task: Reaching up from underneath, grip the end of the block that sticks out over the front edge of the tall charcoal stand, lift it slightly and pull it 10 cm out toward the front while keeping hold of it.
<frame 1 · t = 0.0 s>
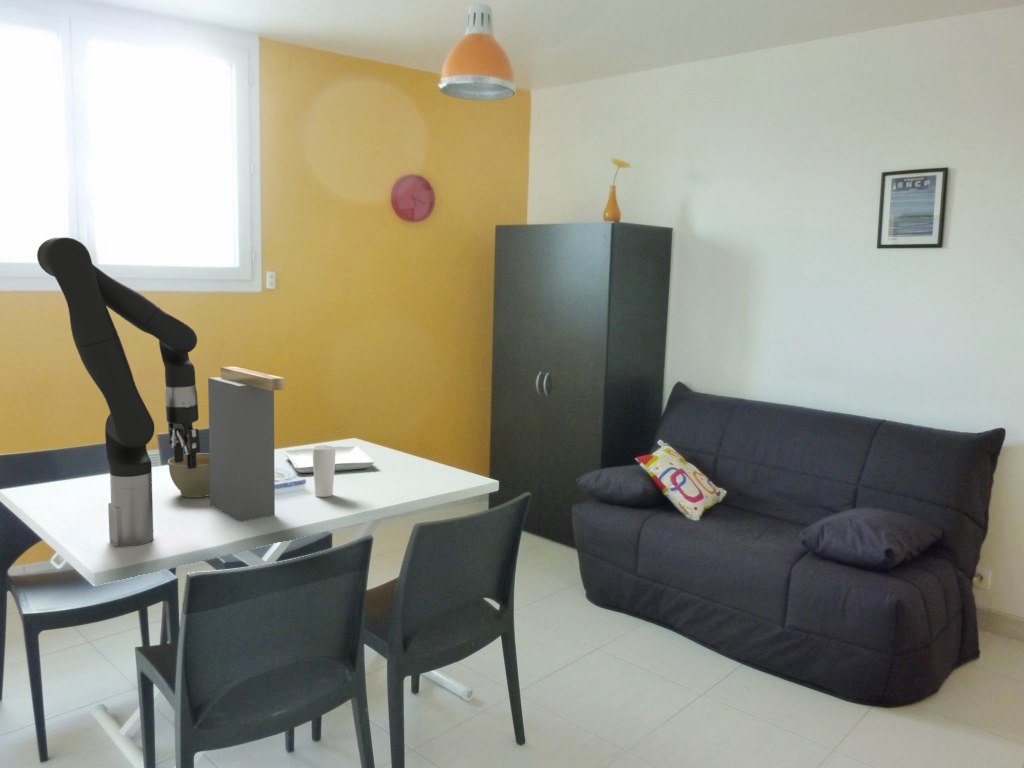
hand: (185, 465, 203), 17 cm above the table, tool pointing down, fingers open, 8 cm apart
square plate: (327, 466, 282), on the table
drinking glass: (323, 496, 242), on the table
block: (251, 383, 215), point 37 cm above the table, touching stand
stand: (242, 510, 224), on the table
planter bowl: (197, 494, 239), on the table
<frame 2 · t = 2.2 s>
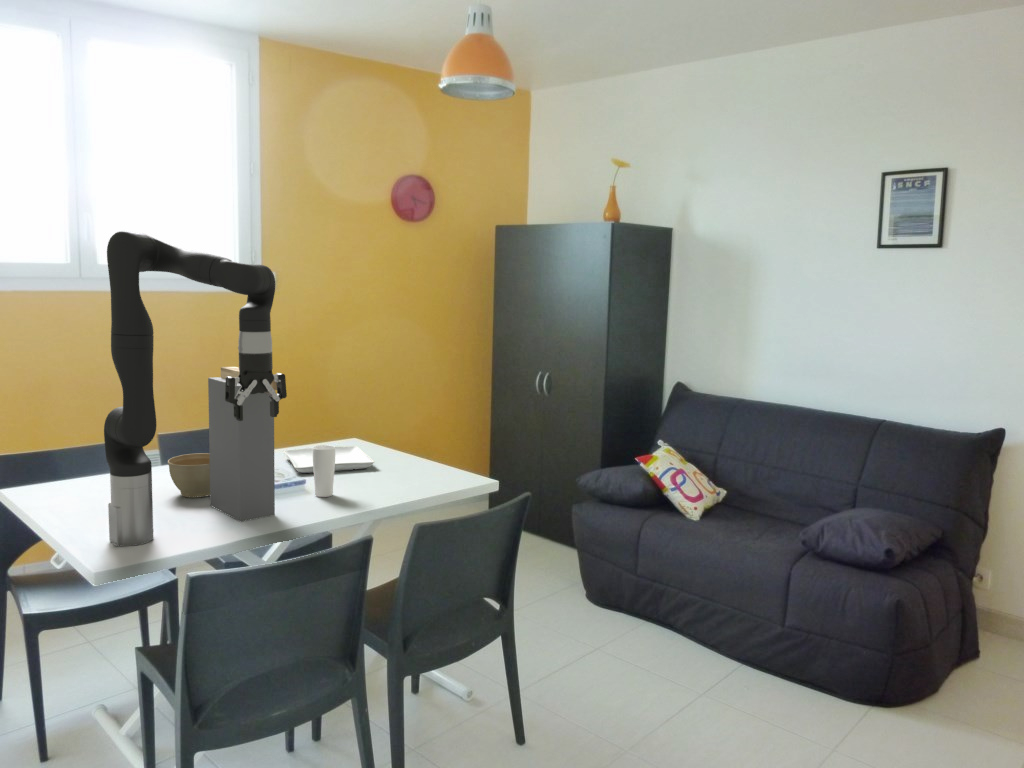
hand: (256, 418, 188), 33 cm above the table, tool pointing down, fingers open, 8 cm apart
nothing on the table moved.
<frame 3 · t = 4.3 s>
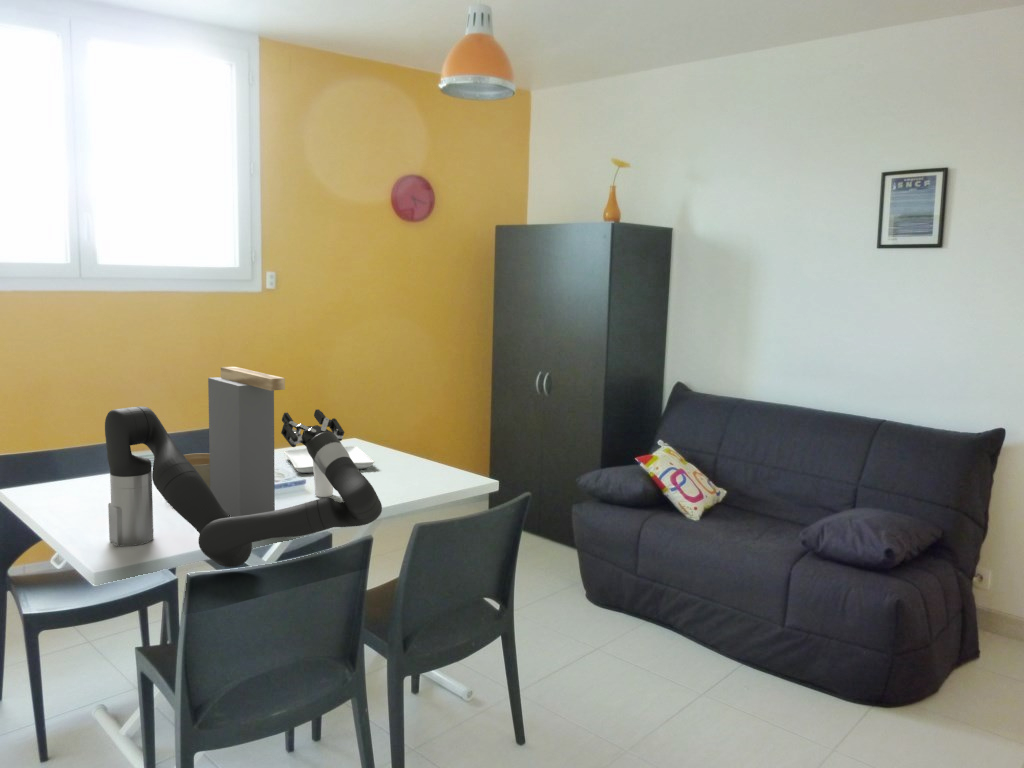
hand: (300, 413, 196), 33 cm above the table, tool pointing upward, fingers open, 8 cm apart
nothing on the table moved.
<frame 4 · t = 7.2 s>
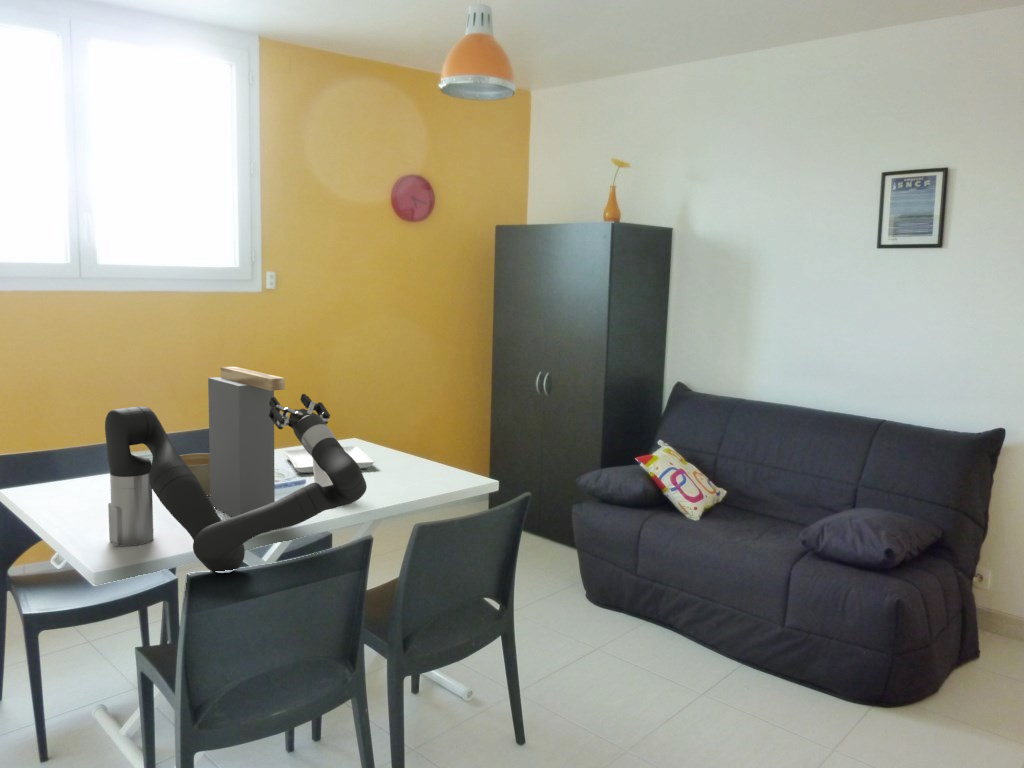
hand: (287, 397, 202), 35 cm above the table, tool pointing upward, fingers open, 8 cm apart
nothing on the table moved.
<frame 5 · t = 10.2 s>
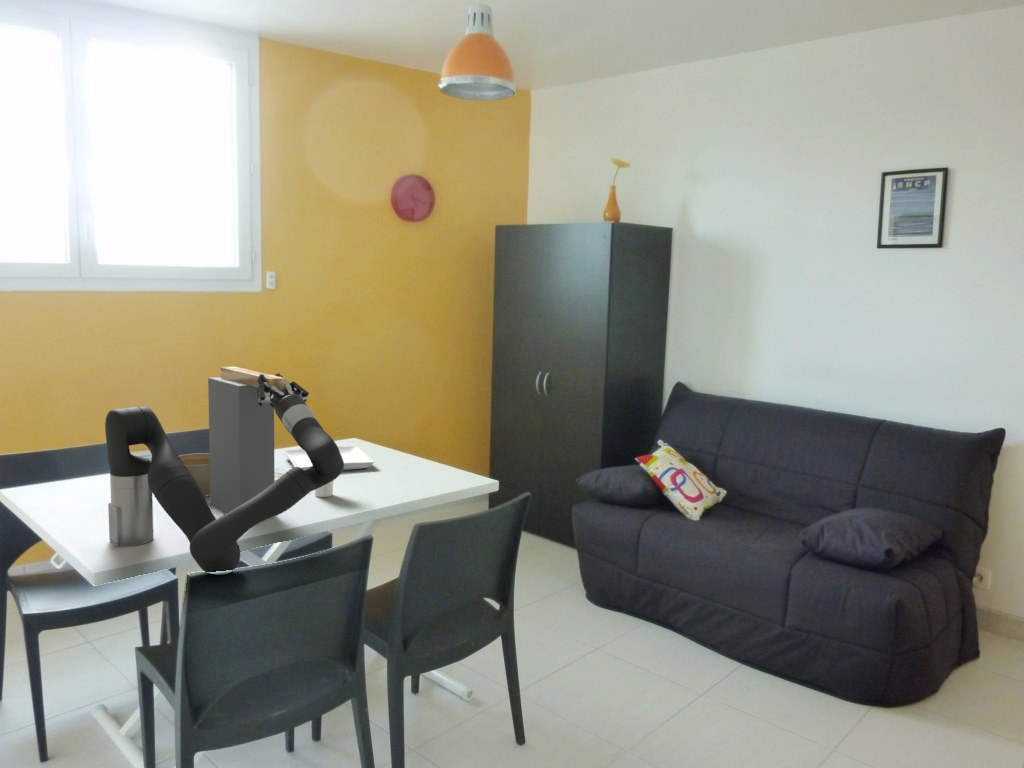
hand: (268, 376, 207), 40 cm above the table, tool pointing upward, fingers closed on block, 4 cm apart
block: (251, 383, 215), point 37 cm above the table, touching gripper, stand
everything else where it was.
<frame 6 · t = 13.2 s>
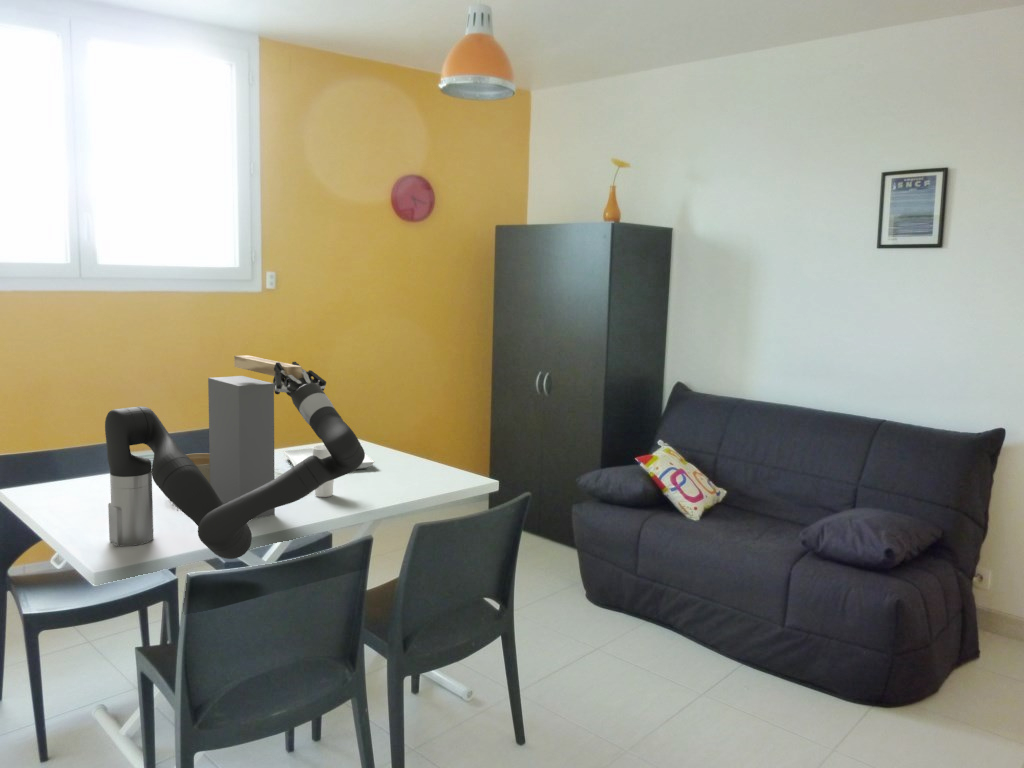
hand: (285, 365, 201), 44 cm above the table, tool pointing upward, fingers closed on block, 4 cm apart
block: (266, 372, 208), point 41 cm above the table, touching gripper
everything else where it was.
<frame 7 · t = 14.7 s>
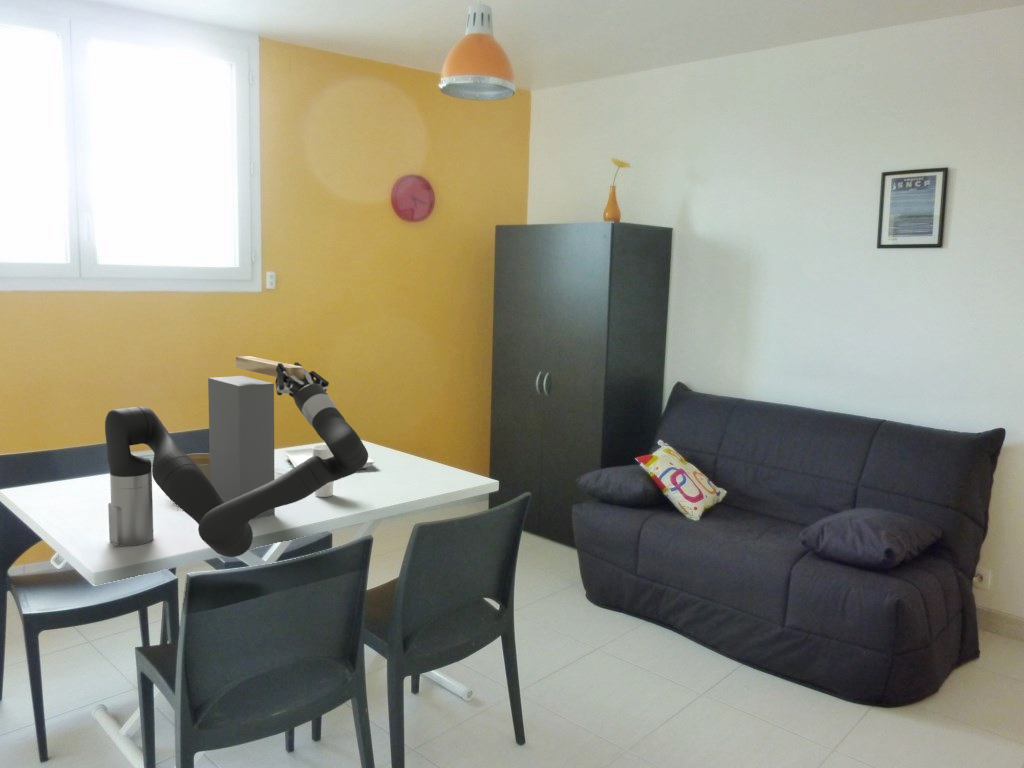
hand: (287, 365, 199), 44 cm above the table, tool pointing upward, fingers closed on block, 4 cm apart
block: (268, 373, 207), point 41 cm above the table, touching gripper
everything else where it was.
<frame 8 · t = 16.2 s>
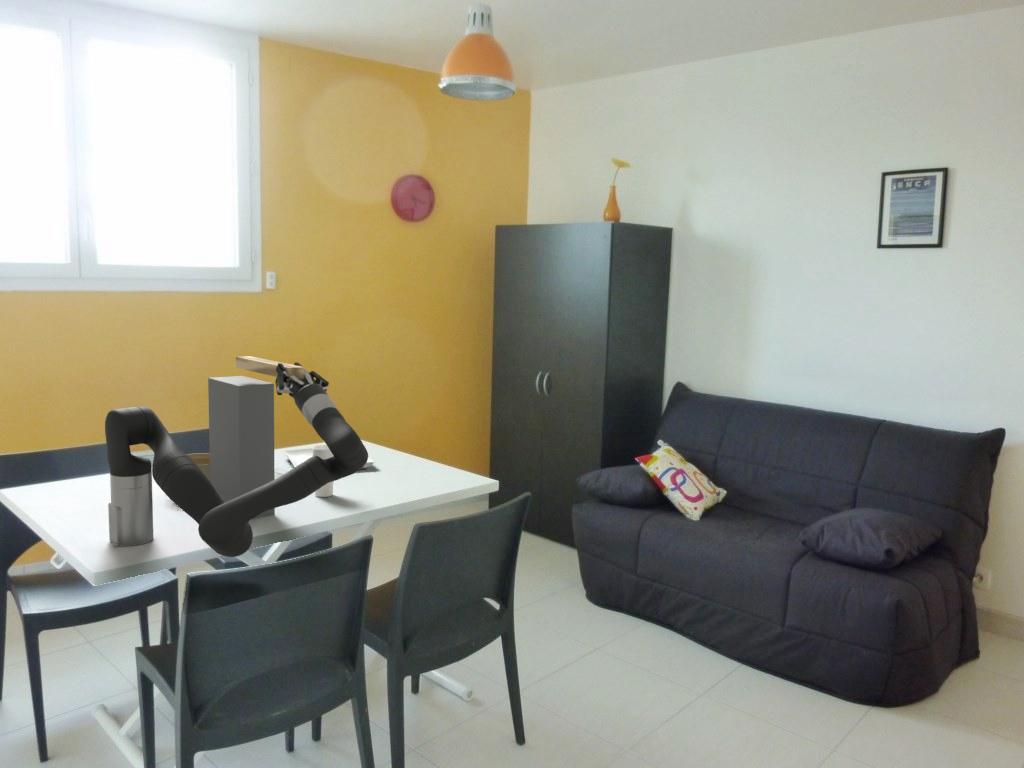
hand: (287, 365, 199), 44 cm above the table, tool pointing upward, fingers closed on block, 4 cm apart
block: (268, 373, 207), point 41 cm above the table, touching gripper
everything else where it was.
at the end: the gripper is holding block; block moved 10.8 cm from its start; block inside the target area (0.5 cm from its centre), point 40.9 cm above the table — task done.
